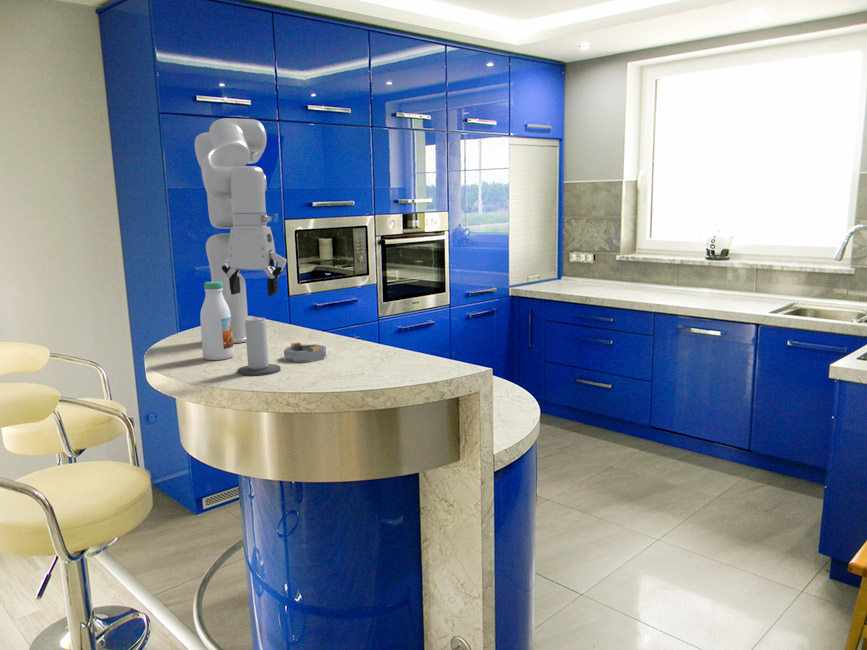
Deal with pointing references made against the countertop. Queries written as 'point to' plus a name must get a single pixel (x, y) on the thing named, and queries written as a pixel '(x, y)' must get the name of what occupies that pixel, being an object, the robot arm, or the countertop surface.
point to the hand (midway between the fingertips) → (253, 294)
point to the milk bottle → (216, 324)
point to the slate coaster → (248, 372)
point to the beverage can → (256, 343)
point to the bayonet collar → (304, 352)
